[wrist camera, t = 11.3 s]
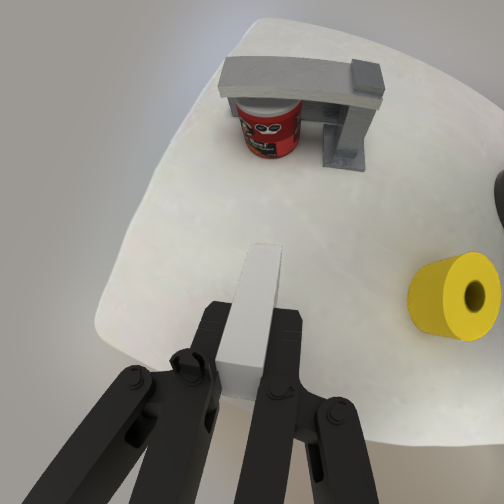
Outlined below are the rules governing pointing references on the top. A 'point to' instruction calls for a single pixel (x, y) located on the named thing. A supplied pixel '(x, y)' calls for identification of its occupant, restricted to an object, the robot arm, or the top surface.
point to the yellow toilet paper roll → (456, 297)
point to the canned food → (270, 124)
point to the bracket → (314, 97)
